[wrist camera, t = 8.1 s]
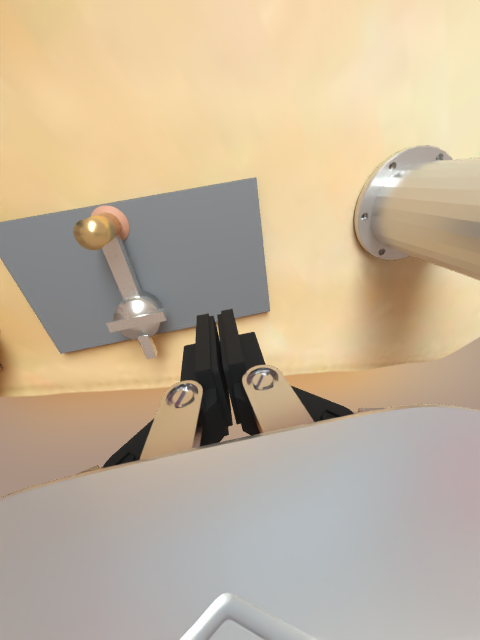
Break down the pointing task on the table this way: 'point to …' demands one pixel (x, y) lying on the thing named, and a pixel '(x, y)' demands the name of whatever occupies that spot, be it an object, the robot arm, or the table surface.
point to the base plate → (143, 261)
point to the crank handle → (123, 282)
